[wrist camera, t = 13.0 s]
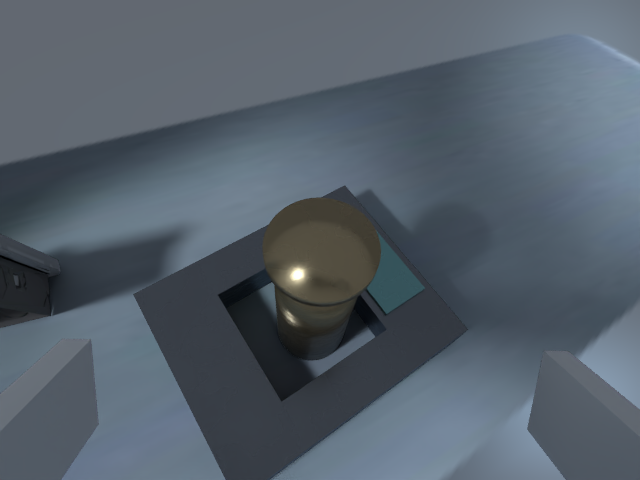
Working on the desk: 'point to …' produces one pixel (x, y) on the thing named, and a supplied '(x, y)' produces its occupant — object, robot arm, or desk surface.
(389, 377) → the rack plate
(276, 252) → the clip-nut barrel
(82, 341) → the robot arm
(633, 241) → the desk surface
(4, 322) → the electrical switch
